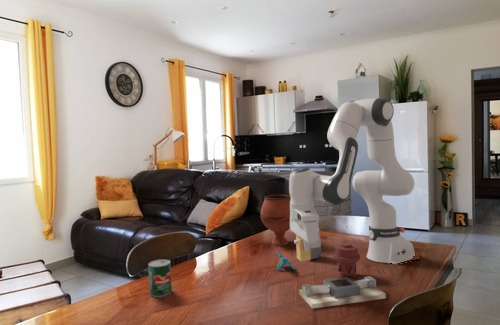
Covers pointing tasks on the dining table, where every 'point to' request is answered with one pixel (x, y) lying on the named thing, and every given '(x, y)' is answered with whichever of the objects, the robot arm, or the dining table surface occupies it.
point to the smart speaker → (315, 248)
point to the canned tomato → (160, 277)
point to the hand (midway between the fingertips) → (303, 248)
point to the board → (329, 300)
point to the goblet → (277, 216)
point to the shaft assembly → (339, 287)
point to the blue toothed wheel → (283, 262)
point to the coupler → (301, 253)
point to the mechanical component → (347, 259)
